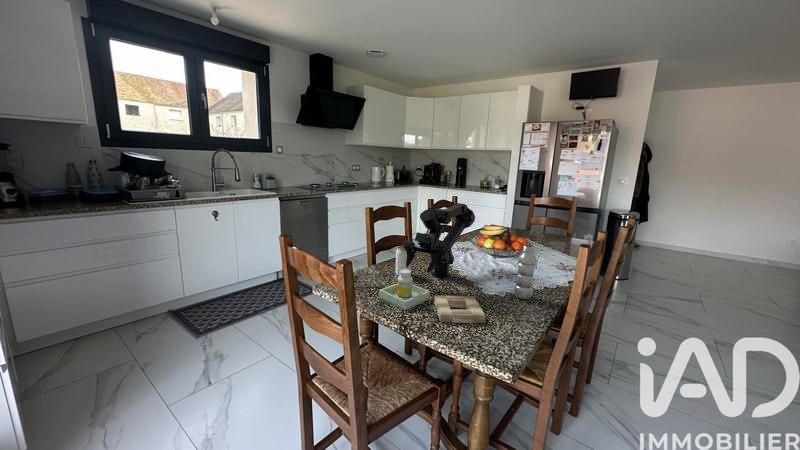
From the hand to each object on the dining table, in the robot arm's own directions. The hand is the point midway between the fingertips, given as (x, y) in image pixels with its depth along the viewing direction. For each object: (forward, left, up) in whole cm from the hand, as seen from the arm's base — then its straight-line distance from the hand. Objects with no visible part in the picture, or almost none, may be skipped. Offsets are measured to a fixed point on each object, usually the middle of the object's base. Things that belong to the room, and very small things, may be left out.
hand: (416, 269), depth 118 cm
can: (-9, -16, -9) cm, 20 cm away
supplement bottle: (+8, +1, -8) cm, 11 cm away
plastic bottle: (-26, +30, -9) cm, 41 cm away
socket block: (+2, +20, -9) cm, 22 cm away
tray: (+8, +1, -9) cm, 12 cm away
